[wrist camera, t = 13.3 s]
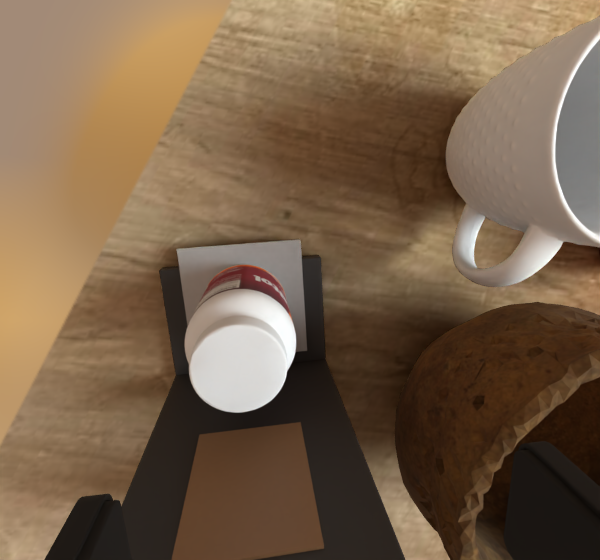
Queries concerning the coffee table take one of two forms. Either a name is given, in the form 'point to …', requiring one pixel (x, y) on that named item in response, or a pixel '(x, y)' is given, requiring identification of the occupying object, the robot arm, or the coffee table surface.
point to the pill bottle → (240, 340)
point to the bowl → (496, 416)
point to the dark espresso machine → (255, 444)
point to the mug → (531, 156)
